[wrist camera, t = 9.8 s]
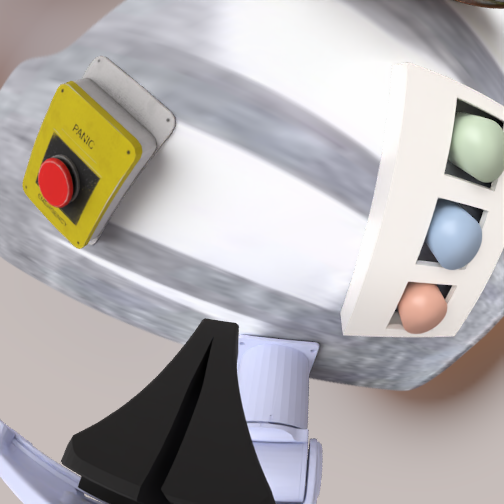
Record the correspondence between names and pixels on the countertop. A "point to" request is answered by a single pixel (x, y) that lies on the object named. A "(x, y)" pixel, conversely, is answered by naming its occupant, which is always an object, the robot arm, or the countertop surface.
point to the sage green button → (477, 146)
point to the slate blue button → (453, 235)
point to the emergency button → (93, 149)
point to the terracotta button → (421, 307)
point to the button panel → (420, 209)
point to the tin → (485, 3)
